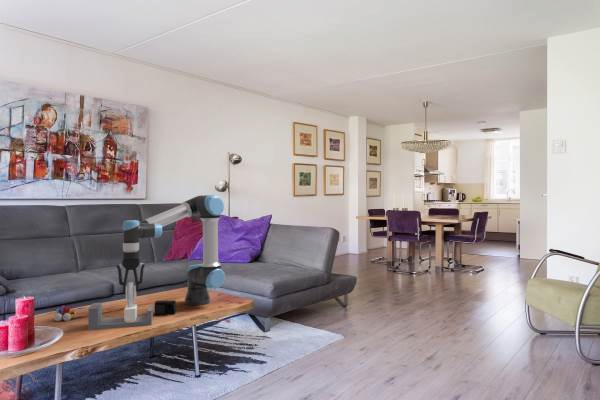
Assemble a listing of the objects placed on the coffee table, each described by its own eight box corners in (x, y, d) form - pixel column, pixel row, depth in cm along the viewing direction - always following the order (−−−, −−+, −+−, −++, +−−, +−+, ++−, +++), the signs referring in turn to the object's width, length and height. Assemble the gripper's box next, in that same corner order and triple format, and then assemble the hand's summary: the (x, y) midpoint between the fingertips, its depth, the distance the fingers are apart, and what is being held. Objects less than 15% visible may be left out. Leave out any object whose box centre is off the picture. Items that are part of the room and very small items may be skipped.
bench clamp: (152, 318, 213) (152, 299, 214) (151, 325, 202) (151, 304, 202) (93, 323, 205) (93, 303, 205) (88, 330, 194) (88, 308, 194)
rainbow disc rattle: (71, 321, 209) (71, 307, 209) (51, 322, 207) (51, 308, 207) (78, 317, 217) (78, 303, 217) (58, 318, 216) (58, 304, 216)
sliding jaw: (137, 316, 210) (137, 280, 210) (135, 320, 201) (135, 284, 201) (126, 316, 208) (126, 281, 209) (124, 321, 200) (124, 284, 200)
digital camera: (153, 316, 218) (153, 303, 219) (156, 313, 224) (156, 300, 224) (174, 315, 220) (174, 302, 220) (175, 312, 225) (175, 300, 225)
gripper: (148, 249, 211) (148, 295, 211) (114, 250, 207) (114, 297, 206) (147, 251, 204) (147, 298, 204) (112, 252, 199) (112, 301, 199)
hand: (130, 298), depth 205 cm, fingers closed on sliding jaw, 3 cm apart
